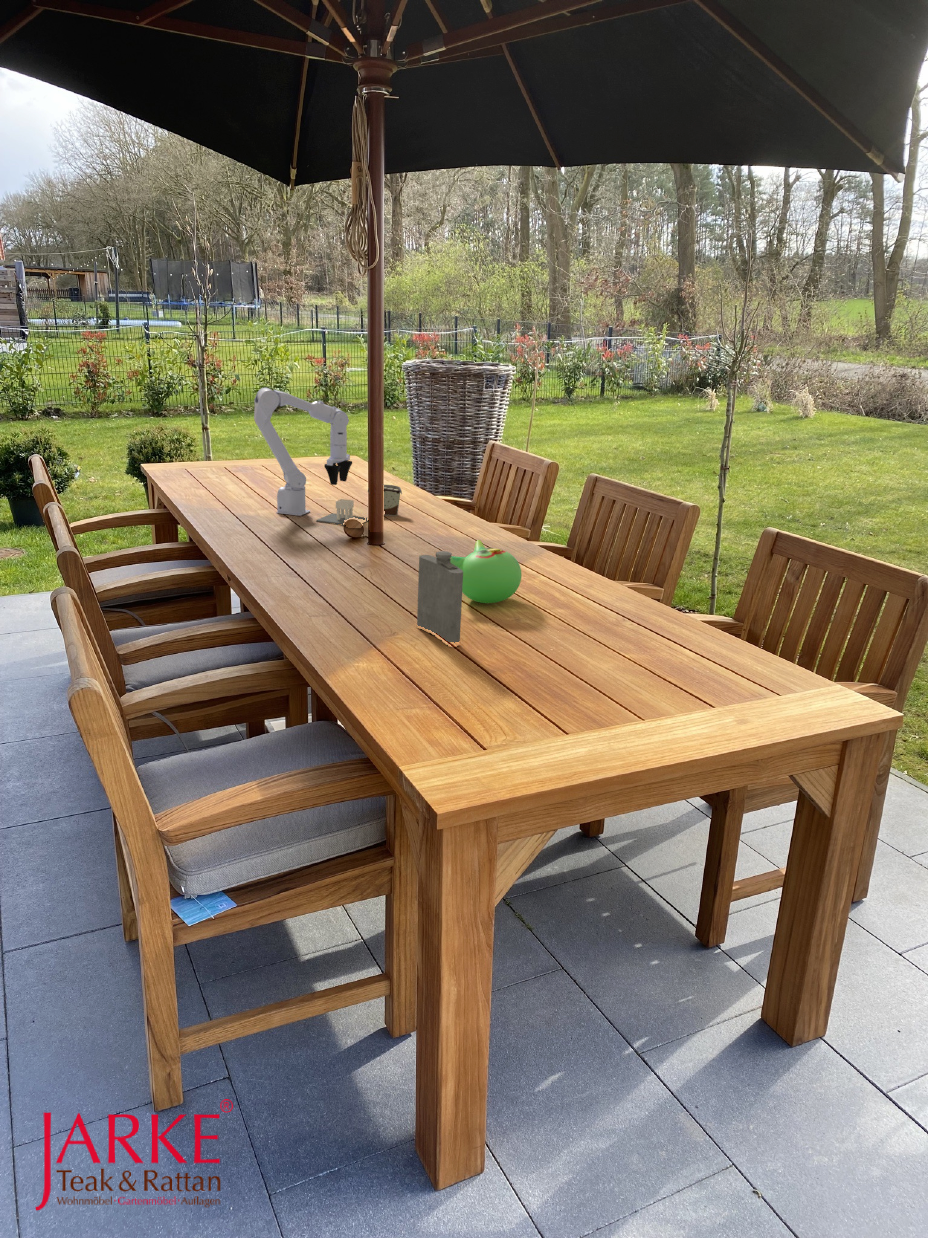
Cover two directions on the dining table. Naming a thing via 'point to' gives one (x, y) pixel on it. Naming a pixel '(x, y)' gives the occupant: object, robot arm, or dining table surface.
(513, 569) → the toy bird
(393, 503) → the food container
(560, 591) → the dining table surface
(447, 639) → the hip flask
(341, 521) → the mat
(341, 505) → the cream block with pegs
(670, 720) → the dining table surface
